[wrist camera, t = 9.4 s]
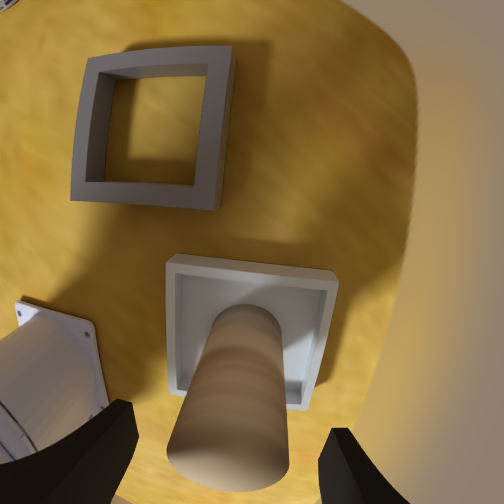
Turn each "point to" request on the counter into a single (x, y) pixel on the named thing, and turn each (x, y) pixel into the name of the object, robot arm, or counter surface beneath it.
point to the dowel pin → (235, 406)
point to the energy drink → (6, 4)
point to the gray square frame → (98, 116)
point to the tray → (255, 293)
